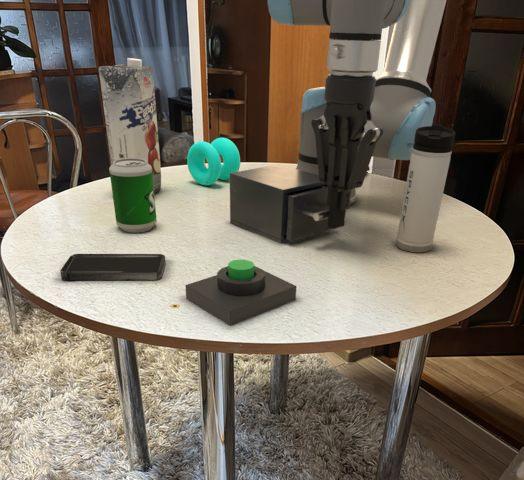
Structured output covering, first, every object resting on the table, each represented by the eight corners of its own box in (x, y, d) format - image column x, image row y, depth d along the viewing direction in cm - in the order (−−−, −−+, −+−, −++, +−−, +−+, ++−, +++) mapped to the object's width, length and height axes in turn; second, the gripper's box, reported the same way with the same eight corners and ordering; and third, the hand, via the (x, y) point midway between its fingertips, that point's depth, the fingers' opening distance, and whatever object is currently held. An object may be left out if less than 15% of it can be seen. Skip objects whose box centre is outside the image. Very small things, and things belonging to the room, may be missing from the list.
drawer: (350, 234, 94) (356, 191, 90) (307, 248, 88) (311, 203, 84) (284, 211, 105) (286, 172, 101) (242, 221, 99) (242, 180, 95)
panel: (250, 277, 79) (250, 252, 77) (295, 300, 73) (297, 274, 71) (186, 299, 72) (184, 273, 70) (230, 326, 66) (229, 298, 64)
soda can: (148, 235, 94) (141, 168, 87) (109, 231, 95) (100, 164, 88) (162, 222, 100) (157, 158, 94) (126, 219, 101) (119, 156, 95)
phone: (71, 253, 82) (165, 253, 83) (73, 260, 83) (166, 260, 84) (58, 273, 76) (160, 273, 76) (59, 280, 76) (161, 280, 77)
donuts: (242, 182, 128) (242, 139, 122) (215, 190, 121) (214, 145, 116) (213, 175, 133) (212, 134, 127) (185, 182, 126) (183, 139, 121)
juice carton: (110, 198, 113) (91, 58, 99) (131, 186, 122) (116, 56, 107) (147, 201, 112) (133, 60, 97) (166, 189, 120) (156, 57, 106)
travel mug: (432, 242, 94) (457, 125, 84) (430, 255, 89) (456, 132, 78) (397, 238, 96) (418, 122, 85) (393, 249, 91) (414, 128, 80)
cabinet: (327, 229, 99) (332, 179, 94) (280, 243, 92) (283, 189, 87) (276, 211, 108) (278, 164, 103) (230, 222, 101) (229, 173, 96)
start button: (242, 268, 73) (243, 257, 72) (259, 277, 71) (259, 265, 70) (222, 275, 71) (222, 263, 70) (239, 283, 69) (239, 271, 68)
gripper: (302, 71, 78) (294, 221, 91) (370, 78, 70) (351, 241, 83) (334, 69, 83) (322, 213, 95) (402, 75, 75) (379, 231, 87)
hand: (335, 226), depth 89 cm, fingers closed
